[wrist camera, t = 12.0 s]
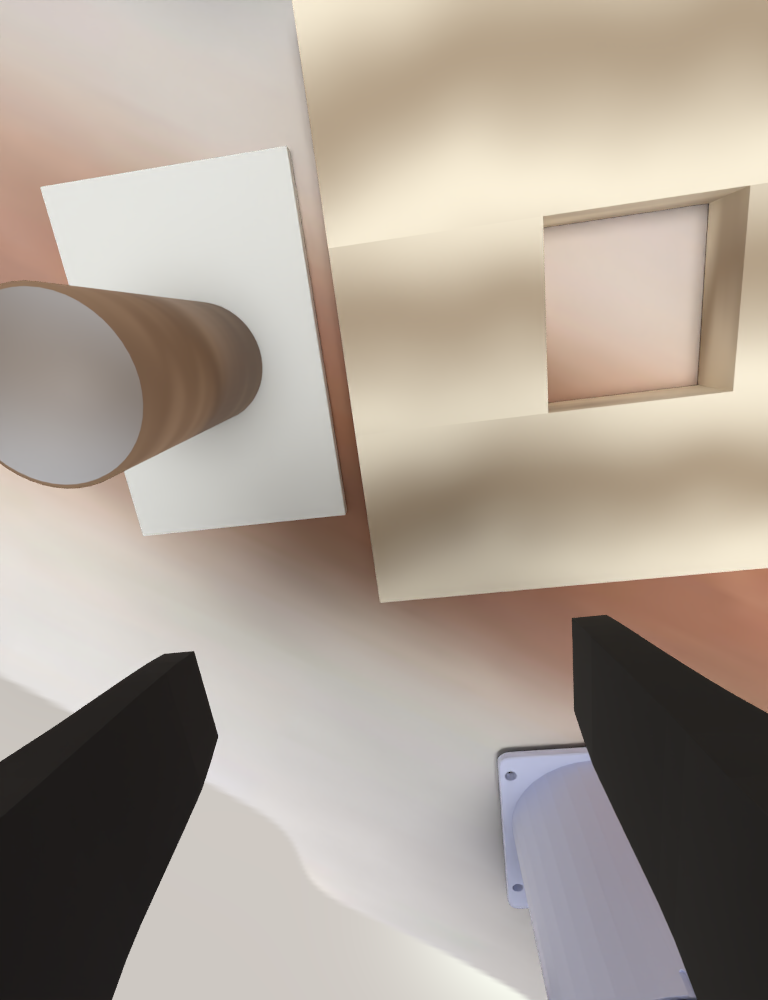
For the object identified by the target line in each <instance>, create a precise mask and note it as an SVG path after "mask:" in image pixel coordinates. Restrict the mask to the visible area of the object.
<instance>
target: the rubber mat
mask: <svg viewBox="0 0 768 1000" xmlns="http://www.w3.org/2000/svg"><path fill="white" fill-rule="evenodd" d="M40 188H41V191H42V195H43V198H44V202H45V205H46V208H47V212H48V215H49V219H50V222H51V225H52V229H53V232H54V235H55V239H56V242H57V246H58V249H59V252H60V256H61V259H62V263H63V266H64V269H65V273H66V276H67V280H68V283H69V285H71V286H79V287H87V288H95V289H103V290H111V291H119V292H127V293H135V294H143V295H151V296H159V297H167V298H175V299H183V300H191V301H199V302H207V303H211V304H215V305H218V306H221V307H223V308H225V309H227V310H229V311H230V312H232V313H233V314H235V315H236V316H237V317H238V318H240V319H241V320H242V321H243V322H244V323H245V325H246V326H247V327H248V328H249V330H250V331H251V333H252V334H253V336H254V338H255V340H256V342H257V344H258V347H259V350H260V353H261V358H262V380H261V384H260V387H259V390H258V392H257V394H256V396H255V398H254V400H253V401H252V402H251V404H250V405H249V406H248V407H247V408H246V409H245V410H244V411H242V412H241V413H239V414H238V415H236V416H234V417H232V418H230V419H228V420H226V421H224V422H222V423H220V424H218V425H216V426H214V427H212V428H210V429H208V430H206V431H204V432H202V433H200V434H198V435H196V436H194V437H192V438H190V439H188V440H186V441H184V442H182V443H180V444H178V445H176V446H174V447H172V448H170V449H168V450H166V451H164V452H162V453H160V454H158V455H156V456H154V457H152V458H150V459H148V460H146V461H144V462H142V463H140V464H138V465H136V466H134V467H132V468H130V469H128V470H126V471H124V473H125V476H126V479H127V483H128V486H129V490H130V493H131V496H132V500H133V503H134V507H135V510H136V513H137V517H138V520H139V524H140V527H141V530H142V534H143V536H149V535H159V534H168V533H178V532H187V531H197V530H206V529H216V528H225V527H235V526H244V525H254V524H263V523H273V522H282V521H292V520H301V519H311V518H320V517H330V516H339V515H346V512H347V507H346V501H345V495H344V488H343V482H342V476H341V469H340V463H339V457H338V451H337V444H336V438H335V432H334V425H333V419H332V413H331V406H330V400H329V394H328V387H327V381H326V375H325V369H324V362H323V356H322V350H321V343H320V337H319V331H318V324H317V318H316V312H315V305H314V299H313V293H312V287H311V280H310V274H309V268H308V261H307V255H306V249H305V242H304V236H303V230H302V224H301V217H300V211H299V205H298V198H297V192H296V186H295V179H294V173H293V167H292V160H291V154H290V150H289V149H288V147H287V146H282V147H276V148H270V149H264V150H258V151H252V152H246V153H240V154H234V155H228V156H222V157H216V158H210V159H204V160H198V161H192V162H186V163H180V164H174V165H168V166H162V167H156V168H151V169H145V170H139V171H133V172H127V173H121V174H115V175H109V176H103V177H97V178H91V179H85V180H79V181H73V182H67V183H61V184H55V185H49V186H43V187H40Z"/></svg>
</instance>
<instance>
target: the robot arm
mask: <svg viewBox="0 0 768 1000" xmlns="http://www.w3.org/2000/svg"><path fill="white" fill-rule="evenodd" d="M572 638H573V682H574V712H575V715H576V718H577V721H578V724H579V727H580V730H581V733H582V736H583V739H584V742H585V745H586V747H580V748H565V749H549V750H534V751H518V752H506V753H503V754H502V755H500V756H499V758H498V761H497V762H498V776H499V790H500V803H501V817H502V831H503V844H504V858H505V872H506V885H507V897H508V902H509V904H510V905H511V906H512V907H514V908H519V909H520V908H529V912H530V917H531V921H532V926H533V931H534V936H535V940H536V945H537V950H538V955H539V959H540V964H541V969H542V974H543V978H544V983H545V988H546V993H547V997H548V1000H768V713H766V712H764V711H763V710H761V709H759V708H757V707H755V706H754V705H752V704H750V703H748V702H746V701H745V700H743V699H741V698H739V697H737V696H736V695H734V694H732V693H730V692H729V691H727V690H725V689H724V688H722V687H720V686H719V685H717V684H715V683H714V682H712V681H710V680H709V679H707V678H705V677H704V676H702V675H700V674H699V673H697V672H695V671H694V670H692V669H691V668H689V667H687V666H686V665H684V664H683V663H681V662H679V661H678V660H676V659H675V658H673V657H672V656H670V655H668V654H667V653H665V652H664V651H662V650H661V649H659V648H658V647H656V646H655V645H653V644H651V643H650V642H648V641H647V640H645V639H644V638H642V637H641V636H639V635H638V634H636V633H635V632H633V631H632V630H630V629H628V628H627V627H625V626H624V625H622V624H621V623H619V622H617V621H616V620H614V619H612V618H611V617H609V616H607V615H601V616H590V617H579V618H572ZM217 739H218V734H217V730H216V727H215V723H214V720H213V716H212V713H211V709H210V706H209V702H208V699H207V695H206V692H205V688H204V685H203V681H202V678H201V674H200V671H199V667H198V664H197V660H196V656H195V653H194V651H192V652H180V653H169V654H163V655H162V656H160V657H158V658H156V659H154V660H153V661H151V662H149V663H148V664H146V665H144V666H143V667H141V668H140V669H138V670H137V671H135V672H134V673H132V674H131V675H129V676H128V677H126V678H125V679H123V680H122V681H120V682H119V683H117V684H116V685H114V686H113V687H112V688H110V689H109V690H107V691H106V692H104V693H103V694H101V695H100V696H98V697H97V698H96V699H94V700H93V701H91V702H90V703H88V704H87V705H85V706H84V707H82V708H81V709H79V710H78V711H77V712H75V713H74V714H72V715H71V716H69V717H68V718H66V719H65V720H63V721H62V722H61V723H59V724H58V725H56V726H55V727H53V728H52V729H50V730H49V731H47V732H45V733H44V734H42V735H41V736H39V737H38V738H36V739H35V740H33V741H31V742H30V743H29V744H27V745H25V746H24V747H22V748H21V749H19V750H18V751H16V752H15V753H13V754H11V755H10V756H8V757H7V758H5V759H4V760H2V761H1V762H0V1000H112V998H113V995H114V992H115V990H116V987H117V984H118V981H119V978H120V976H121V973H122V970H123V967H124V965H125V962H126V959H127V957H128V954H129V952H130V949H131V947H132V945H133V942H134V939H135V937H136V935H137V932H138V930H139V928H140V925H141V923H142V921H143V919H144V916H145V914H146V912H147V910H148V908H149V906H150V903H151V901H152V899H153V897H154V895H155V892H156V890H157V888H158V886H159V884H160V881H161V879H162V877H163V875H164V873H165V871H166V868H167V866H168V864H169V862H170V859H171V857H172V855H173V853H174V851H175V849H176V846H177V844H178V842H179V840H180V838H181V835H182V833H183V831H184V829H185V827H186V824H187V822H188V820H189V818H190V815H191V813H192V811H193V809H194V806H195V804H196V802H197V800H198V797H199V795H200V793H201V790H202V787H203V784H204V781H205V778H206V775H207V772H208V769H209V766H210V763H211V760H212V756H213V753H214V749H215V746H216V742H217ZM510 771H511V772H512V773H507V772H510Z"/></svg>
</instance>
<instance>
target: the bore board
mask: <svg viewBox="0 0 768 1000" xmlns="http://www.w3.org/2000/svg"><path fill="white" fill-rule="evenodd" d="M292 4H293V11H294V18H295V24H296V31H297V38H298V45H299V52H300V59H301V65H302V72H303V79H304V86H305V93H306V100H307V107H308V113H309V120H310V127H311V134H312V141H313V148H314V155H315V161H316V168H317V175H318V182H319V189H320V196H321V202H322V209H323V216H324V223H325V230H326V237H327V244H328V250H329V257H330V264H331V271H332V278H333V285H334V292H335V298H336V305H337V312H338V319H339V326H340V333H341V339H342V346H343V353H344V360H345V367H346V374H347V381H348V387H349V394H350V401H351V408H352V415H353V422H354V429H355V435H356V442H357V449H358V456H359V463H360V470H361V477H362V483H363V490H364V497H365V504H366V511H367V518H368V524H369V531H370V538H371V545H372V552H373V559H374V566H375V572H376V579H377V586H378V593H379V600H380V603H384V602H395V601H406V600H417V599H428V598H439V597H450V596H461V595H472V594H484V593H495V592H506V591H517V590H528V589H539V588H550V587H561V586H572V585H583V584H594V583H605V582H616V581H627V580H638V579H649V578H661V577H672V576H683V575H694V574H705V573H716V572H727V571H738V570H749V569H760V568H768V0H292ZM707 203H709V214H708V230H707V246H706V261H705V277H704V293H703V309H702V325H701V341H700V357H699V373H698V385H694V386H686V387H677V388H669V389H661V390H652V391H644V392H635V393H627V394H619V395H610V396H602V397H594V398H585V399H577V400H569V401H560V402H552V403H548V384H547V346H546V309H545V272H544V235H543V228H544V227H551V226H558V225H565V224H571V223H578V222H585V221H592V220H598V219H605V218H612V217H619V216H626V215H632V214H639V213H646V212H653V211H659V210H666V209H673V208H680V207H686V206H693V205H700V204H707Z"/></svg>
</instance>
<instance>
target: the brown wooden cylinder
mask: <svg viewBox="0 0 768 1000" xmlns="http://www.w3.org/2000/svg"><path fill="white" fill-rule="evenodd" d="M261 380H262V358H261V353H260V350H259V347H258V344H257V342H256V340H255V338H254V336H253V334H252V333H251V331H250V330H249V328H248V327H247V326H246V325H245V323H244V322H243V321H242V320H241V319H240V318H238V317H237V316H236V315H235V314H233V313H232V312H230V311H229V310H227V309H225V308H223V307H221V306H218V305H215V304H211V303H207V302H199V301H191V300H183V299H175V298H167V297H159V296H151V295H143V294H135V293H127V292H119V291H111V290H103V289H95V288H87V287H79V286H71V285H63V284H55V283H47V282H39V281H27V280H23V281H11V282H6V283H2V284H0V464H2V465H3V466H4V467H6V468H7V469H9V470H11V471H12V472H14V473H16V474H17V475H19V476H21V477H23V478H26V479H28V480H30V481H33V482H36V483H39V484H42V485H46V486H51V487H56V488H67V489H68V488H82V487H88V486H92V485H95V484H98V483H101V482H104V481H106V480H108V479H110V478H112V477H114V476H116V475H118V474H120V473H122V472H124V471H126V470H128V469H130V468H132V467H134V466H136V465H138V464H140V463H142V462H144V461H146V460H148V459H150V458H152V457H154V456H156V455H158V454H160V453H162V452H164V451H166V450H168V449H170V448H172V447H174V446H176V445H178V444H180V443H182V442H184V441H186V440H188V439H190V438H192V437H194V436H196V435H198V434H200V433H202V432H204V431H206V430H208V429H210V428H212V427H214V426H216V425H218V424H220V423H222V422H224V421H226V420H228V419H230V418H232V417H234V416H236V415H238V414H239V413H241V412H242V411H244V410H245V409H246V408H247V407H248V406H249V405H250V404H251V402H252V401H253V400H254V398H255V396H256V394H257V392H258V390H259V387H260V384H261Z"/></svg>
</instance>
